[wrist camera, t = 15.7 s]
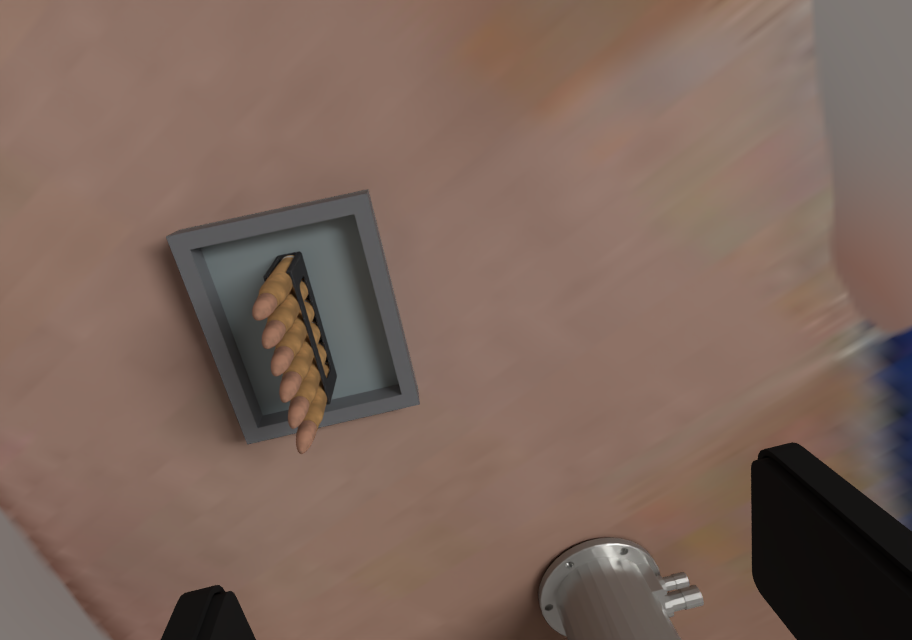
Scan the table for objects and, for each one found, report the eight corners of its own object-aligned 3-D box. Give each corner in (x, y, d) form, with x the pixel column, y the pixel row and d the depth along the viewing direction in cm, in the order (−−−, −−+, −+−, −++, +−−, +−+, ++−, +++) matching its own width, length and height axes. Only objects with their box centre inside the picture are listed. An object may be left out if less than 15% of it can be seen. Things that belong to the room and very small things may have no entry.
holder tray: (368, 189, 40) (366, 193, 38) (418, 389, 46) (419, 404, 44) (179, 229, 40) (165, 236, 37) (254, 427, 46) (247, 444, 43)
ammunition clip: (276, 255, 41) (233, 305, 29) (301, 250, 41) (267, 298, 29) (315, 382, 44) (290, 469, 33) (337, 377, 44) (320, 462, 33)
